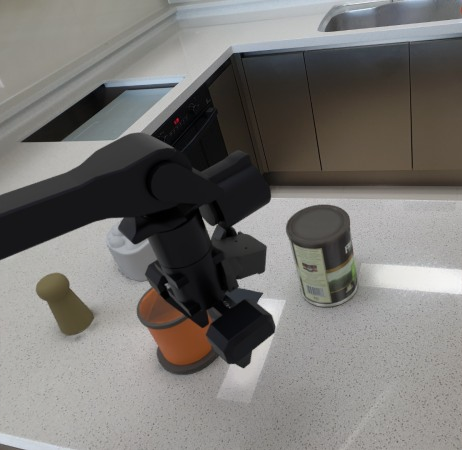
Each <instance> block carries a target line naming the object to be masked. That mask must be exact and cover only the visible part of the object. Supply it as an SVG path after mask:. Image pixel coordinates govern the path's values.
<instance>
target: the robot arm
mask: <svg viewBox="0 0 462 450" xmlns="http://www.w3.org/2000/svg"><path fill="white" fill-rule="evenodd" d="M271 201H272V191H271V188H270V185H269V183H267V182H266V179H265V178H264V176H263V174H262V173H261V171H260V170H259V168H258V167H256V165H254V164H253V162H252V157H251V154H248V153H246V152H243V151H241V150H238V149H237V150H235V151H233V152H232V153H230V154H229V155H227V156H226V157H225V158H223V159H222V160H221V161H218V162H217V163H215V164H213V165H211V166H210V167H208V168H206V169H204V170H202V171H200V170H198V169H196V168H194V167H193V166H192V164H191V161H190V159H189V158H188V156H186V154H185V153H184V152H183V151H181V150H179V149H177V148H175V147H173V146H172V145H170V144H168V143H166V142H164V141H162V140H160V139H158V138H157V137H155V136H153V135H151V134H148V133H145V132H138V131H137V132H132V133H128V134H126V135H123V136H121V137H119V138H118V139H116V140H113V141H112V142H110V143H108V144H106V145H104V146H102V147H101V148H98V149H97V150H95V151H94V152H93V153H91V154H90V156H88V157H87V158H86V159H85V160H84V161H83V162H82V163H80V164H79V165H77V166H76V167H74V168H72V169H70V170H68V171H66V172H63V173H60V174H58V175H54V176H51V177H49V178H46V179H43V180H40V181H37V182H33V183H31V184H27V185H25V186H22V187H19V188H17V189H13V190H10V191H8V192H7V191H6V192H4V193H2V194H0V261H2V260H5V259H7V258H10V257H12V256H14V255H17V254H19V253H23V252H25V251H27V250H29V249H31V248H35V247H36V246H39V245H41V244H44V243H46V242H49V241H51V240H54V239H56V238H59V237H61V236H64V235H66V234H68V233H70V232H73V231H75V230H79V229H81V228H83V227H85V226H88V225H90V224H93V223H96V222H99V221H100V222H101V221H104V220H108V219H121V220H120V221H121V223H120V224H119V226H118V230H119V231H120V232H121V233H122V234H123V235H124V236H125V237H126V238H127V239H128V240H129V241H130V242H132V243H133V244H139V243H140V242H142V241H144V240H145V239H148V241H149V243H150V245H151V247H152V249H153V251H154V253H155V255H156V258H157V260H156V261H154V262H152V263H151V264H149V265H148V268H147V270H146V273H145V276H146V278H147V280H146V281H148V284H149V285H150V286H151V287H153V288H154V289H155V290H156V291H157V293H158V294H159V295H160V296H161V297H162V298H163V299H164V300H165V301H166V302H167V303H169V304H170V305H171V306H173V307H174V308H175V309H177V310H178V311H180V312H181V313H182V314H184V315H185V316H186V317H188V318H189V319H190V320H192V321H193V322H194V323H196V324H197V325H198V326H200V327H201V328H204V327H206V326H207V325H208V324H209V319H208V314H207V310H208V309H210V310H211V311H212V312H213V313H214V314H215V315H216V316H217V317H218V319H216V320H215V321H214V322H212V323H211V324H210V326H209V328H208V331H207V333H206V337H207V339H208V341H209V343H210V344H211V348H212V349H213V350H214V351H215V352H216V353H217V354H218V356H219V357H220V359H222V360H223V361H224V362H226V363H227V364H228V365H235V366H237V367H239V368H241V369H245V368H247V367H248V366H249V365H250V364H251V362H252V354H253V351H255V350H256V349H257V348H258V347H259V346H260V345H262V344H263V343H264V342H265V341H267V340H268V339H269V338H270V337H271V336H273V335H274V334H275V333H276V329H277V326H276V324H275V321H274V317H273V314H271V313H270V312H269V311H268V310H266V309H265V308H264V307H263V306H261V304H259V303H258V302H257V303H256V302H255V301H254V300H249V299H244V300H242V301H241V302H239V303H238V304H237V303H236V302H234V301H233V300H232V299H231V298H230V297H228V296H227V295H226V294H225V293H226V292H227V291H229V292H232V291H234V290H235V289H236V288H240V286H239V282H238V280H242V279H245V278H249V277H251V276H254V275H262V274H264V273H265V272H266V263H267V252H268V251H267V249H268V246H267V245H266V244H265V243H263V242H262V241H260V240H259V239H257V238H255V237H254V236H252V235H251V234H248V233H245V232H242V231H240V230H239V231H236V229H235V227H234V226H235V225H237V224H238V223H240V222H241V221H243V220H244V219H246V218H247V217H249V216H250V215H251V216H252V214H254V213H255V212H257V211H259V210H261V209H262V208H264V207H265V206H267V205H268V204H269V203H271ZM205 223H207V224H208V225H209V226H211V227H215V228H214V229H213V232H212V235H211V236H210V235H209V232H208V228H207V226H206V224H205Z"/></svg>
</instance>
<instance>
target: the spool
mask: <svg viewBox="0 0 462 450" xmlns="http://www.w3.org/2000/svg"><path fill="white" fill-rule="evenodd" d="M207 314H208V319H209V324H208V325H207V326H206V327H204V328H201V327H200V326H198V325H197V324H196V323H194V322H193V321H192V320H190V319H189V318H188V317H186V316H185V315H184V314H182V313H181V312H180V311H178V310H177V309H175V308H174V307H173V306H171V305H170V304H169V303H167V302H166V301H165V300H164V299H163V298H162V297H161V296H160V295H159V294H158V293H157V291H156V290H155V289H154V288H153V287H152V286H151V287H150V288H148V290H146V292H144V293H143V294H142V295H141V297H140V298H139V301H138V303H137V305H136V316H137V319H138V320H139V322H140V324H141V325H143V326H144V327H145V328H146V329H147V330H148V331H149V333H150V335H151V337H152V338H153V340H154V342H155V343H156V345H157V347H156V356H157V360H158V362H159V363H160V365H161V366H162V368H163V369H164V370H165V371H167V372H169V373H171V374H174V375H189V374H193V373H197V372H199V371H201V370H203V369H204V368H206V367H208V366H209V365H210V364H211V363H213V361H215V359H216V358H217V357H218V356H219V355H218V354H217V353H216V352H215V351H214V350H213V349H212V348H211V344H210V343H209V341H208V339H207V337H206V333H207V331H208V328H209V326H210V324H211V323H212V322H214V321H215V319H213V318H211V317H210V316H209V313H208V311H207Z"/></svg>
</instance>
